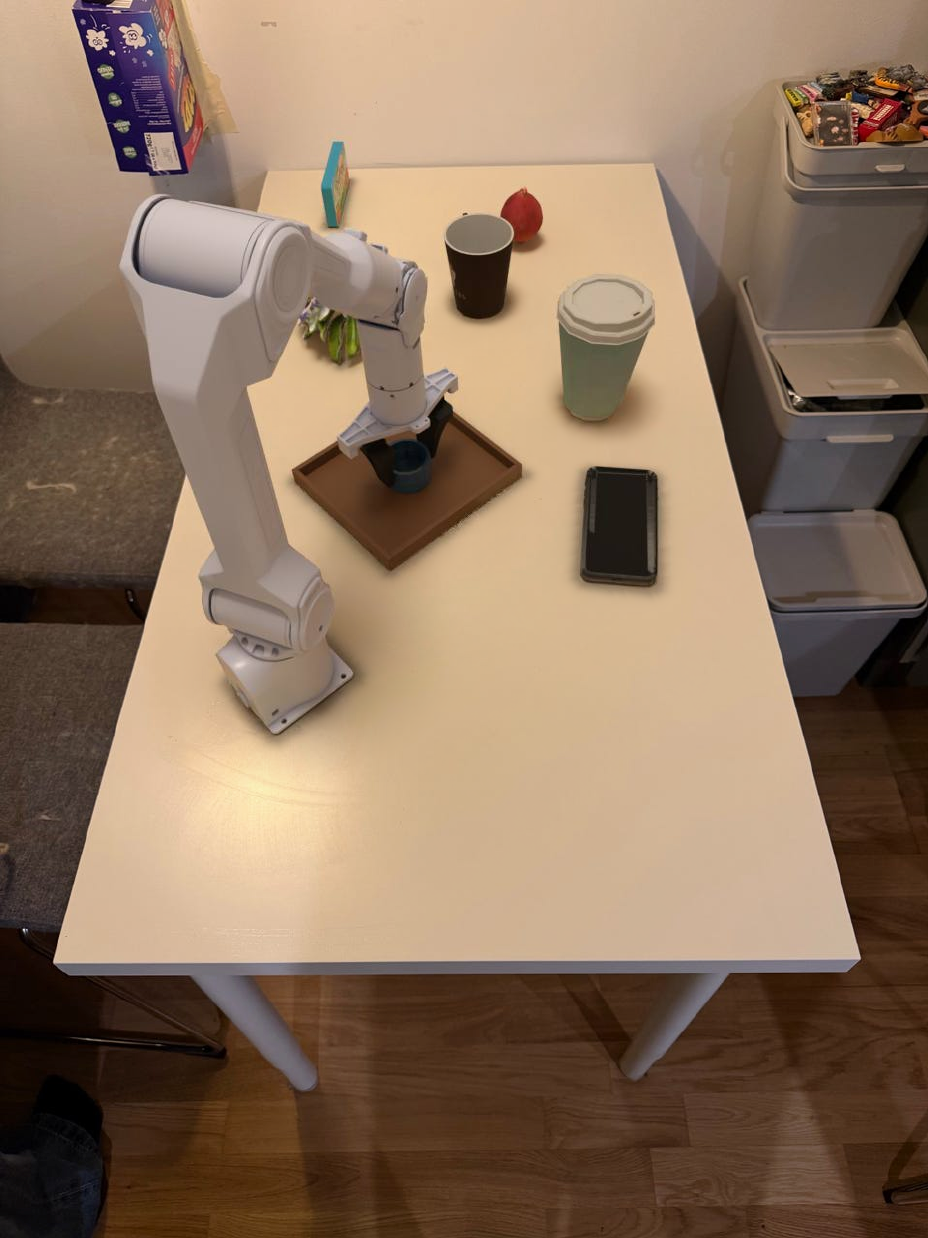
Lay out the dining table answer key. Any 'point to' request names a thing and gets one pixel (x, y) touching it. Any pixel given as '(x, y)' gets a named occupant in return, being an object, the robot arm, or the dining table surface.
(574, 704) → the dining table surface
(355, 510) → the tray
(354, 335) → the passion flower
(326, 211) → the teal picture box
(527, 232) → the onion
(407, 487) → the dish
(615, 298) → the disposable coffee cup
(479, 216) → the coffee mug
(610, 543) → the phone
